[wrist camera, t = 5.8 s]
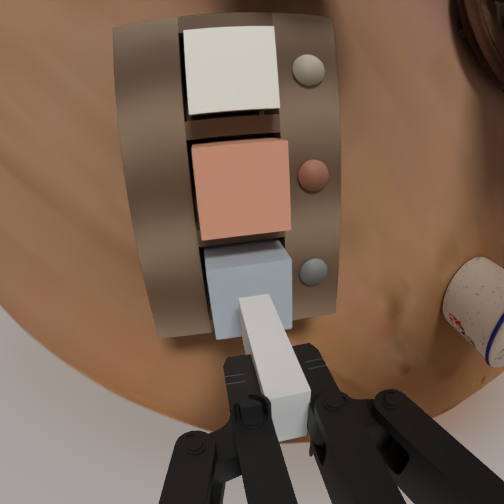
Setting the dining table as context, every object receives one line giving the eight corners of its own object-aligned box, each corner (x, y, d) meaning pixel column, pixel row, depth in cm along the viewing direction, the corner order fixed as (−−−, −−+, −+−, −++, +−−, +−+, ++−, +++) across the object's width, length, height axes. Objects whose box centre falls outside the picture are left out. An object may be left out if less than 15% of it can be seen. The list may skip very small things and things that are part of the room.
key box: (130, 47, 17) (111, 27, 12) (304, 35, 19) (333, 16, 14) (164, 299, 25) (158, 340, 20) (312, 279, 26) (336, 314, 21)
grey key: (203, 236, 21) (205, 270, 16) (270, 228, 21) (291, 259, 17) (211, 295, 22) (216, 339, 18) (273, 287, 23) (292, 328, 18)
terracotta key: (193, 142, 18) (191, 148, 14) (265, 136, 19) (287, 140, 14) (200, 212, 20) (201, 240, 15) (269, 204, 21) (291, 230, 16)
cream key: (186, 51, 17) (183, 30, 12) (256, 47, 17) (274, 26, 13) (190, 116, 19) (188, 114, 14) (260, 111, 19) (279, 107, 15)
